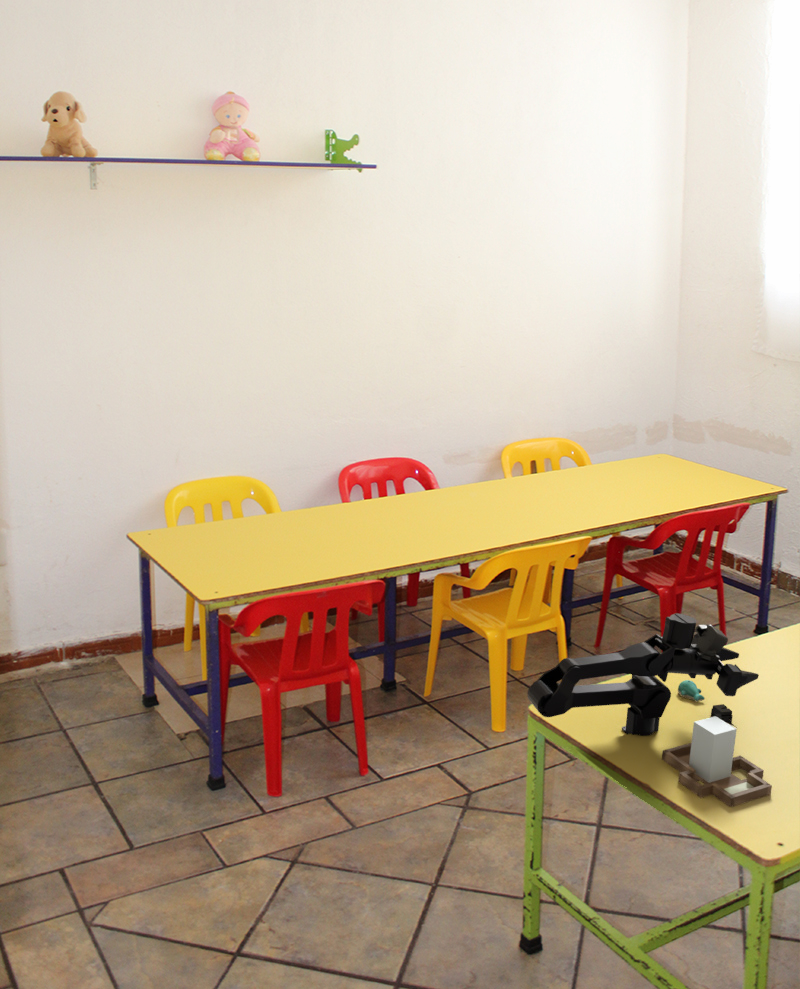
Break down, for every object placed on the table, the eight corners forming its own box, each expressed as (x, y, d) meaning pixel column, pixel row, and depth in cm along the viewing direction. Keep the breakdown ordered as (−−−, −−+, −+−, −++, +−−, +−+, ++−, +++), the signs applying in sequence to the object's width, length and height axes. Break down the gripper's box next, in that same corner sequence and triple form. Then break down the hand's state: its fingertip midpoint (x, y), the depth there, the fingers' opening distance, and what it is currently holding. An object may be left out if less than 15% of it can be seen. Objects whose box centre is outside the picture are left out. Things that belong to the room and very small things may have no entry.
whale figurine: (691, 689, 247) (693, 675, 246) (709, 702, 240) (711, 688, 239) (672, 692, 245) (673, 678, 244) (689, 705, 238) (691, 691, 237)
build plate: (749, 737, 225) (751, 719, 224) (721, 740, 223) (723, 722, 222) (718, 712, 237) (720, 694, 235) (691, 715, 235) (693, 697, 233)
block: (688, 768, 208) (693, 721, 205) (709, 762, 210) (715, 716, 207) (708, 782, 202) (714, 734, 200) (730, 776, 205) (736, 728, 202)
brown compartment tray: (650, 766, 210) (651, 753, 209) (709, 750, 218) (711, 737, 217) (718, 816, 193) (720, 801, 192) (780, 796, 200) (782, 782, 200)
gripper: (714, 650, 210) (779, 655, 213) (677, 610, 227) (738, 615, 230) (700, 695, 214) (764, 699, 217) (665, 652, 231) (725, 656, 234)
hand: (748, 665), depth 225 cm, fingers open, 9 cm apart
